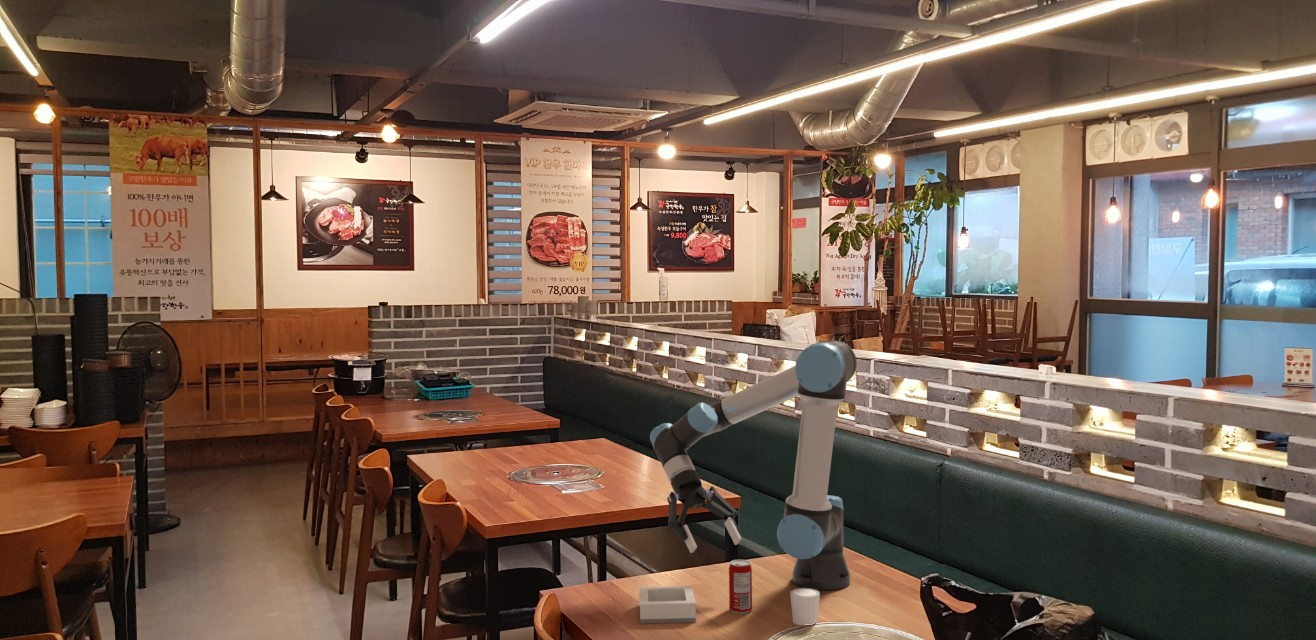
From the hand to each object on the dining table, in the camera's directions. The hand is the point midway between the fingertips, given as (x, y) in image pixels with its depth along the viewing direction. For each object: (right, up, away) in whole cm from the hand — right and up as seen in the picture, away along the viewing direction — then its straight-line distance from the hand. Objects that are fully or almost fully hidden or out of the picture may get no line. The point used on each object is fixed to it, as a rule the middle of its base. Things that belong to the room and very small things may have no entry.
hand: (716, 546), depth 239 cm
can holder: (-12, -14, -9) cm, 21 cm away
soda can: (+5, -14, -7) cm, 17 cm away
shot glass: (+20, -14, -16) cm, 29 cm away
